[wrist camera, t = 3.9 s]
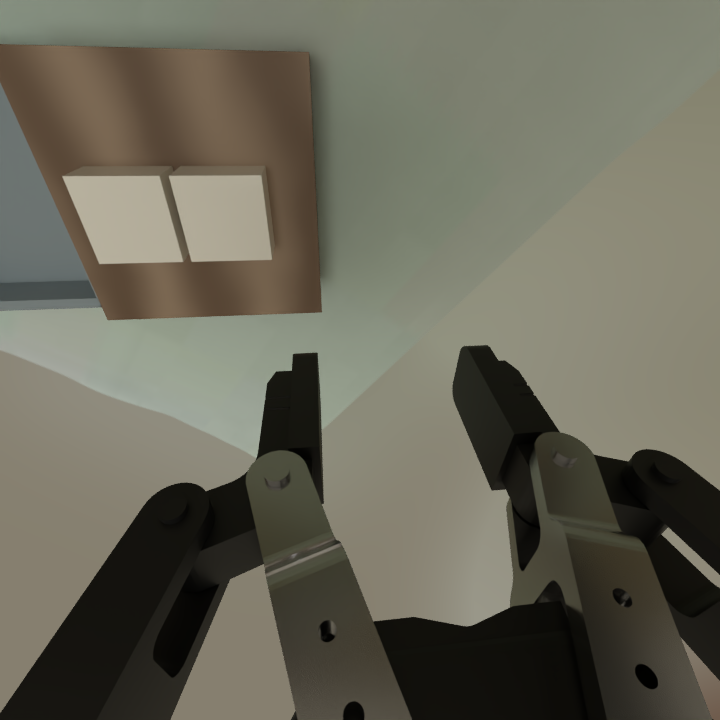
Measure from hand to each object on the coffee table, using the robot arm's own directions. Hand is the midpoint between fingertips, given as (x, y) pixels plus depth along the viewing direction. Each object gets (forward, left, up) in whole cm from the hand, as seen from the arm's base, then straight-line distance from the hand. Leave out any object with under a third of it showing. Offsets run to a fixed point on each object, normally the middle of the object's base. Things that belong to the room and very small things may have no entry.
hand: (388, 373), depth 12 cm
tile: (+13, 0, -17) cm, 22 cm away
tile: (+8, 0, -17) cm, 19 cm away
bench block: (+10, 0, -23) cm, 25 cm away
